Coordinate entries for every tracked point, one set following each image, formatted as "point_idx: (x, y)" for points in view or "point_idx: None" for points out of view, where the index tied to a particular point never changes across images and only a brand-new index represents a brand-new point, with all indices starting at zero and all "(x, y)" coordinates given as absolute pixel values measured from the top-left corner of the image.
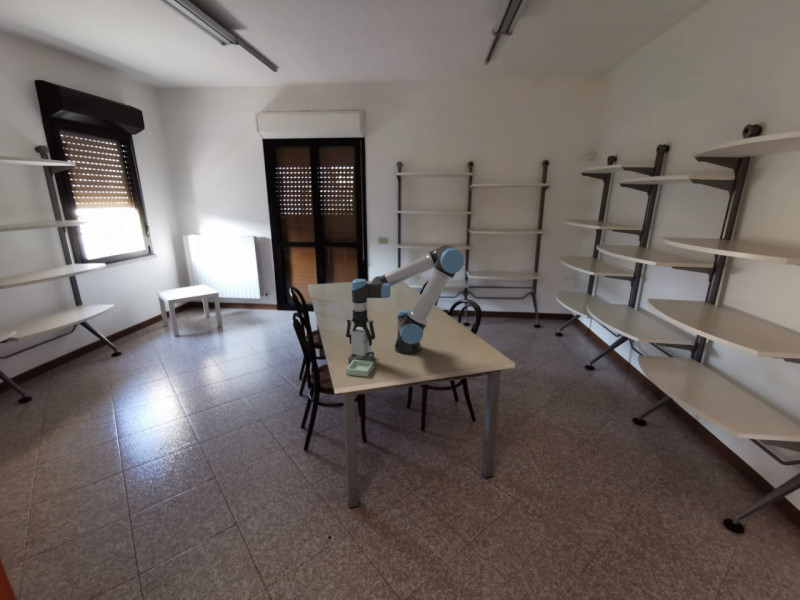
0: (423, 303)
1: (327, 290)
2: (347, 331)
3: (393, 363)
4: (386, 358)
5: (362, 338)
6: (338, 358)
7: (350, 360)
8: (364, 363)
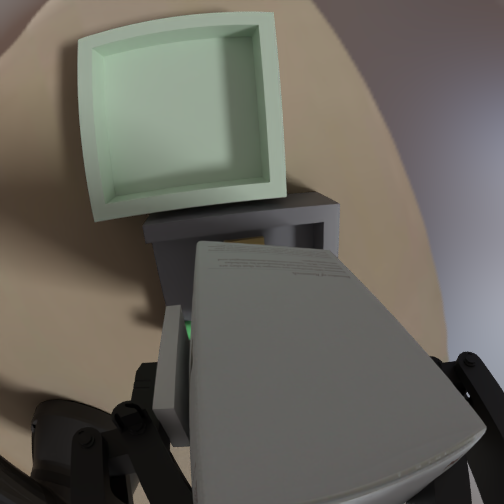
0: None
1: None
2: (502, 406)
3: (35, 297)
4: (104, 344)
5: (213, 402)
6: (398, 245)
7: (311, 199)
8: (173, 189)
